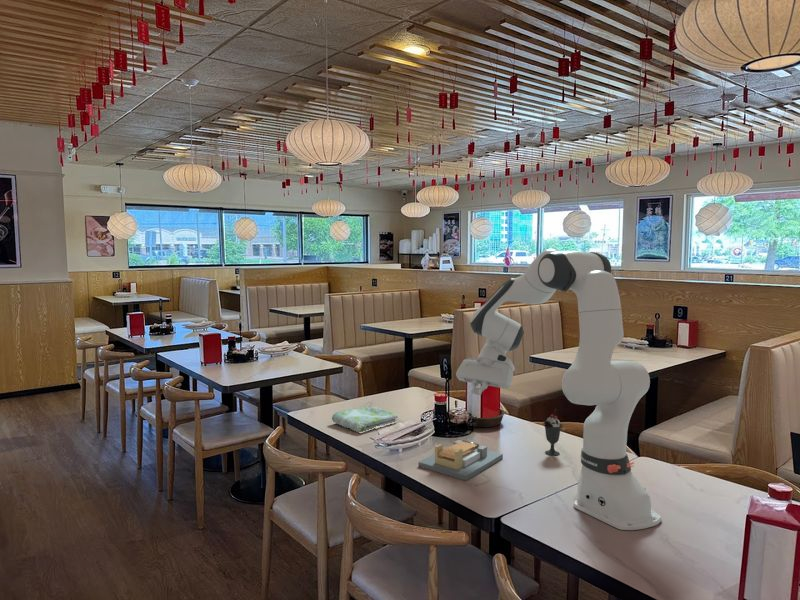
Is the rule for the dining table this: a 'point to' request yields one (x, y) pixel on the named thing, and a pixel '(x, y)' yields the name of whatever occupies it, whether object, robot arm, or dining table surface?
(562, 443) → the dining table surface
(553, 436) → the sundae
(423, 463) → the clip base
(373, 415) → the towel
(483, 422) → the dish
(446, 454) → the wooden plank
